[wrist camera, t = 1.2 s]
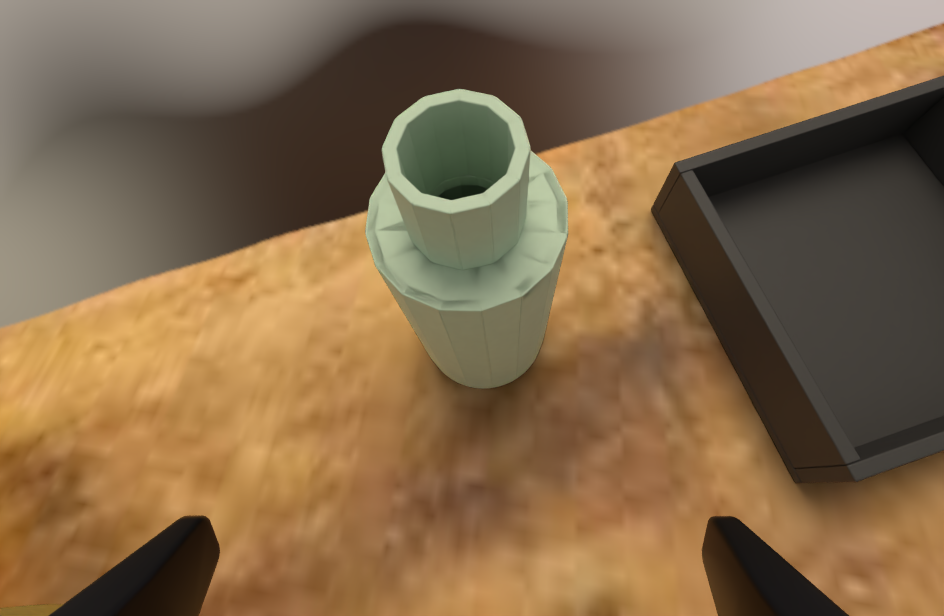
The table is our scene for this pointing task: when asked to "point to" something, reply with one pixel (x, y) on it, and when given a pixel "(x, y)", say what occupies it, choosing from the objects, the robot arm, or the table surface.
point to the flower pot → (30, 610)
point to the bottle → (469, 234)
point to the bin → (827, 278)
